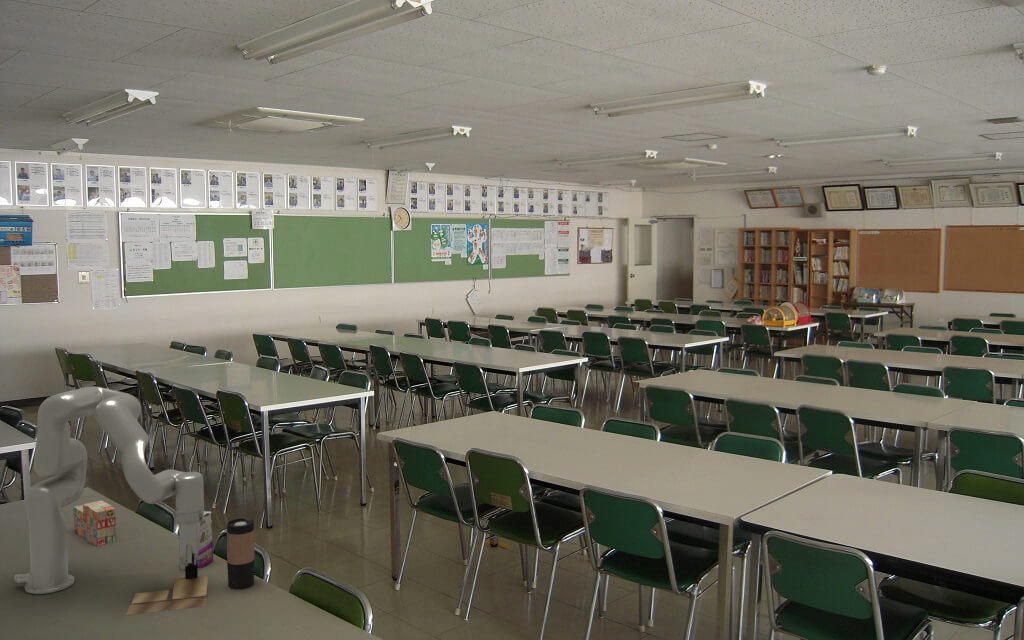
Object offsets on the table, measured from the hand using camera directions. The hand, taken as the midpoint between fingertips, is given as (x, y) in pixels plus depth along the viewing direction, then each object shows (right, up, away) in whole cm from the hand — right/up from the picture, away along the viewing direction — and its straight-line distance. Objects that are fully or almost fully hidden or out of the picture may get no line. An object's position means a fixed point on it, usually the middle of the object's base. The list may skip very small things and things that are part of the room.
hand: (191, 577), depth 227 cm
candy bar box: (-7, -4, +20) cm, 22 cm away
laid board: (-2, -6, -10) cm, 12 cm away
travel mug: (+13, -5, +4) cm, 14 cm away
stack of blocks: (-53, -1, +46) cm, 70 cm away
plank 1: (-10, -5, -5) cm, 12 cm away
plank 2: (0, -3, -2) cm, 3 cm away
